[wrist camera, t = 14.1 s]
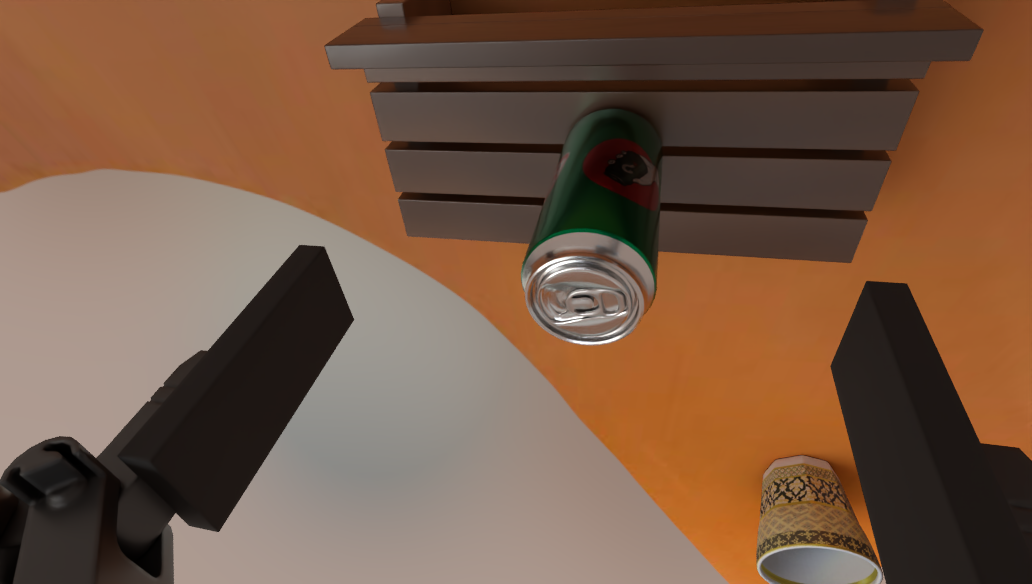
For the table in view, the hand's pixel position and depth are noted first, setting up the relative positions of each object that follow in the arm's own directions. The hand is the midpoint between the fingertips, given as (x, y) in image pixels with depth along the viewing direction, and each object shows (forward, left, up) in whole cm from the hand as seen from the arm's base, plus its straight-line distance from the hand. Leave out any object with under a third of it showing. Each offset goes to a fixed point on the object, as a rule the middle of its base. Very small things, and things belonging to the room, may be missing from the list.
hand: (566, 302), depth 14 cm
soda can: (+3, +3, -17) cm, 17 cm away
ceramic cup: (+20, +45, -25) cm, 55 cm away
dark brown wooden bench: (+3, +3, -25) cm, 25 cm away
